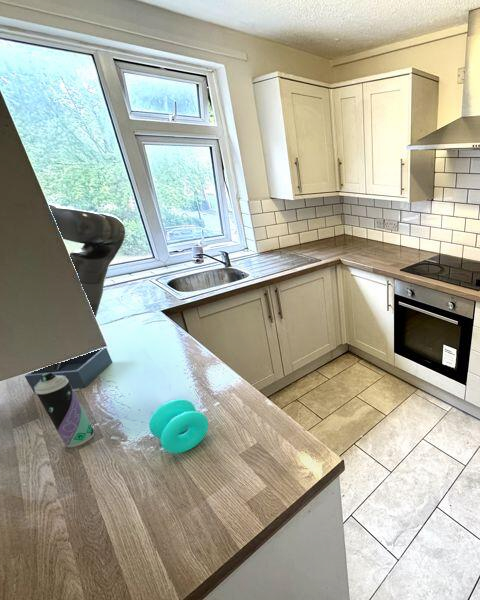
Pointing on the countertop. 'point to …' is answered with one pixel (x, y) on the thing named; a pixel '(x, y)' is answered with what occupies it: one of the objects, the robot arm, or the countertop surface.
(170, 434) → the turquoise spool
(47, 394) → the spray can
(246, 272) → the countertop surface
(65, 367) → the bin
